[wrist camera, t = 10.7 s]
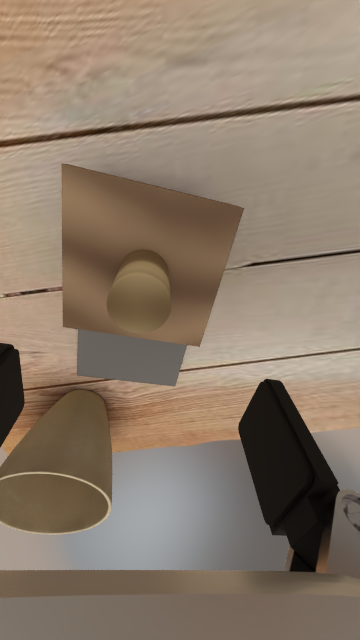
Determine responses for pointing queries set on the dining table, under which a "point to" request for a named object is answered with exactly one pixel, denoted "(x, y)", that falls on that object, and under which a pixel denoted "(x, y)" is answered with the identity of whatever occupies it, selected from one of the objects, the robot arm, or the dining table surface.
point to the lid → (141, 256)
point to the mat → (128, 358)
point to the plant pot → (60, 470)
